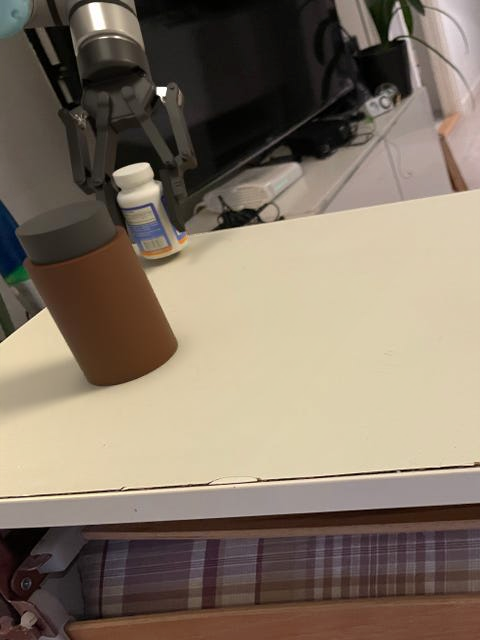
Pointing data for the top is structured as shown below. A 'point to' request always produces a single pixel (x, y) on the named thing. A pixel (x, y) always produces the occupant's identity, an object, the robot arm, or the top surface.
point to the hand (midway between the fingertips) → (150, 233)
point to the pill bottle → (147, 212)
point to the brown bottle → (96, 292)
